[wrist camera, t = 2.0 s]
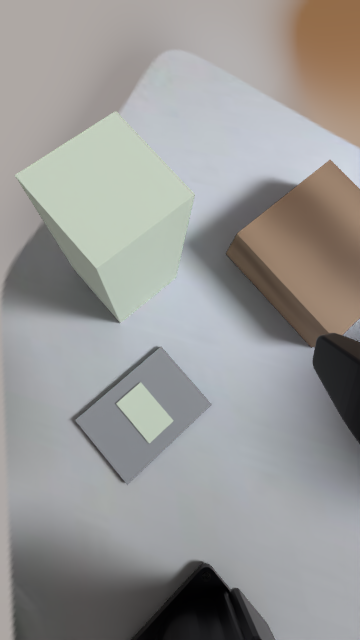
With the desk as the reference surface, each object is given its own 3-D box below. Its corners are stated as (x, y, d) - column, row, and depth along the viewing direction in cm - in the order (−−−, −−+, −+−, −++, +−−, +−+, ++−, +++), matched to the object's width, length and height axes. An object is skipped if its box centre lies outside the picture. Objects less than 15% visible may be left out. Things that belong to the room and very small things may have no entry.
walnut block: (308, 348, 23) (336, 340, 20) (224, 255, 24) (236, 233, 21) (387, 273, 25) (425, 254, 21) (306, 190, 26) (330, 159, 22)
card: (127, 483, 20) (127, 485, 19) (76, 419, 20) (74, 420, 20) (210, 404, 21) (212, 404, 21) (160, 346, 22) (161, 346, 21)
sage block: (120, 323, 22) (96, 268, 12) (73, 269, 22) (14, 175, 13) (175, 278, 23) (194, 194, 13) (130, 227, 23) (115, 111, 14)
